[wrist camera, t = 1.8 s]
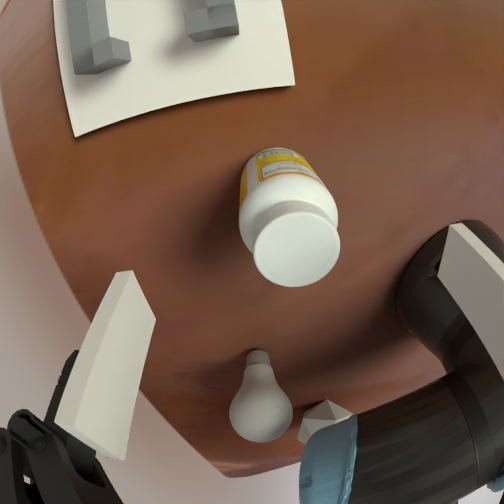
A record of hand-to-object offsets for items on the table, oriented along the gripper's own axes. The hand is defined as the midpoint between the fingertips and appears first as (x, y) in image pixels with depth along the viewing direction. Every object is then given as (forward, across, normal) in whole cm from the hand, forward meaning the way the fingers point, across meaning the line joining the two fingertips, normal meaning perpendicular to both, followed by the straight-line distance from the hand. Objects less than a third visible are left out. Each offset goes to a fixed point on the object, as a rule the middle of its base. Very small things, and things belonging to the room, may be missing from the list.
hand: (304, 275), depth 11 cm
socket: (+12, +6, -16) cm, 20 cm away
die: (+11, -4, +37) cm, 39 cm away
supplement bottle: (+12, 0, 0) cm, 12 cm away
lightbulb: (+12, +4, +19) cm, 23 cm away
